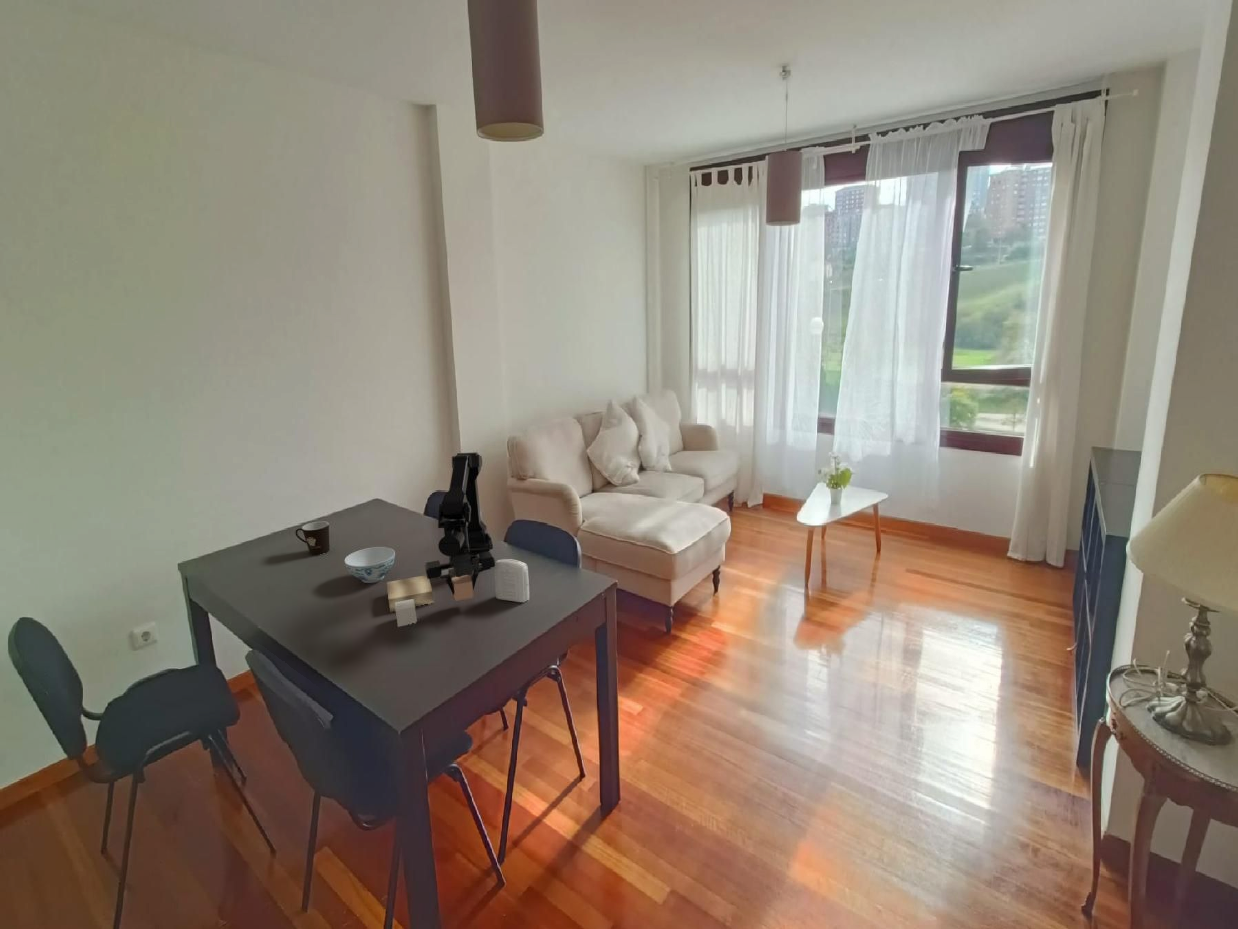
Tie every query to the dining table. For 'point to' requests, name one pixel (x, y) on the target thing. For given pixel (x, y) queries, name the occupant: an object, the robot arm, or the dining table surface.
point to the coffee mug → (316, 537)
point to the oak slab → (410, 591)
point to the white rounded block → (511, 580)
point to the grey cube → (405, 612)
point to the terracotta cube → (462, 587)
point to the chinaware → (370, 563)
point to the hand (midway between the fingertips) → (463, 592)
